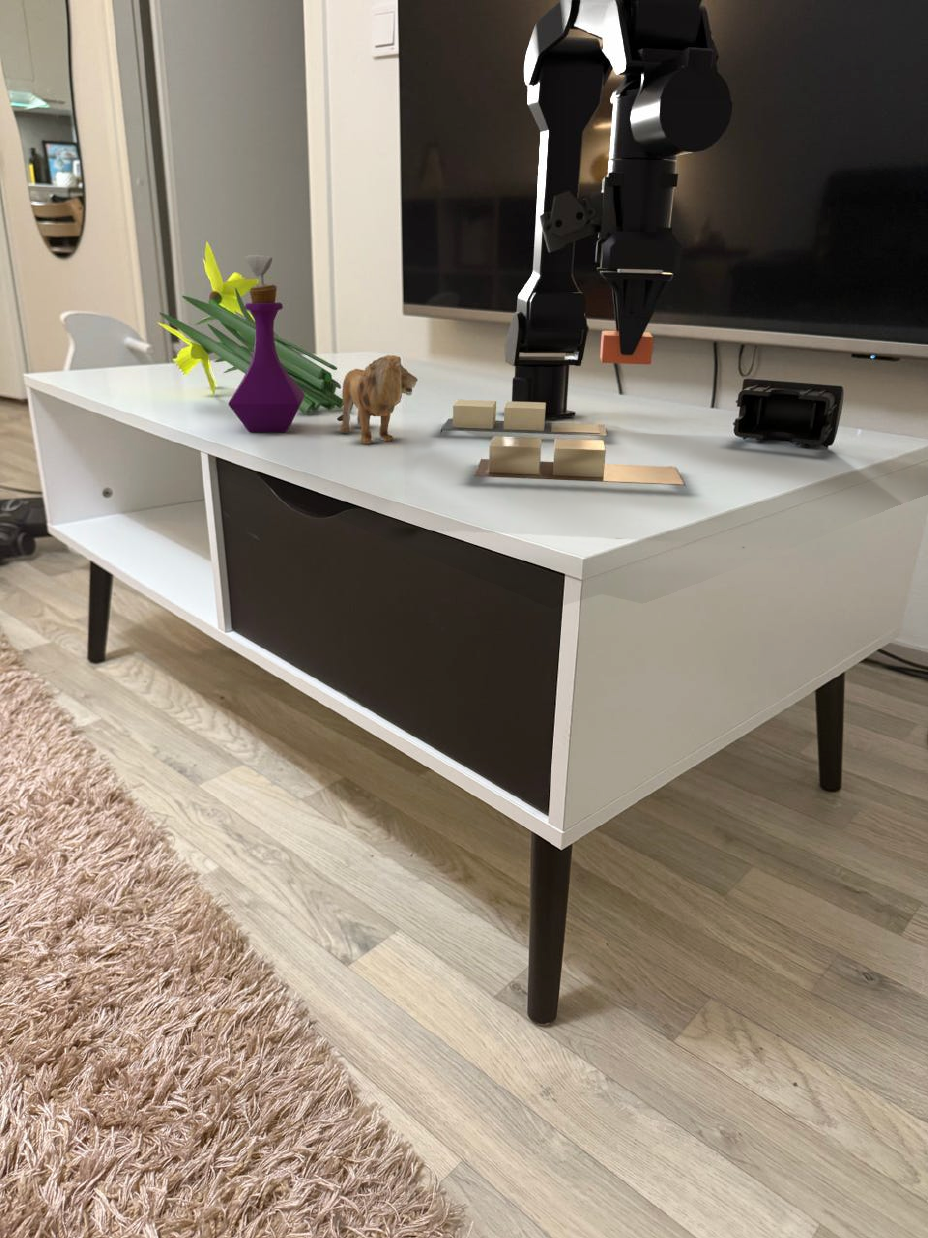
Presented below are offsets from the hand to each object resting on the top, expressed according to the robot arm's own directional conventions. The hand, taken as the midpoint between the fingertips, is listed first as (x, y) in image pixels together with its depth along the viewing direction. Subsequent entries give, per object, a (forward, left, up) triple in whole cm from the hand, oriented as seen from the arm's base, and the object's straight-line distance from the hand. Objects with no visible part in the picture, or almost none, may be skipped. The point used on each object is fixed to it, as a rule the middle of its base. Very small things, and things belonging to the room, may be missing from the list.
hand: (625, 351), depth 83 cm
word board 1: (-3, -17, -11) cm, 20 cm away
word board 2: (+8, +2, -11) cm, 13 cm away
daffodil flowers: (+8, -56, -11) cm, 58 cm away
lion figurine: (+12, -25, -11) cm, 29 cm away
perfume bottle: (+19, -35, -11) cm, 41 cm away
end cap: (-21, +4, -11) cm, 24 cm away
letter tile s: (0, 0, -1) cm, 1 cm away
